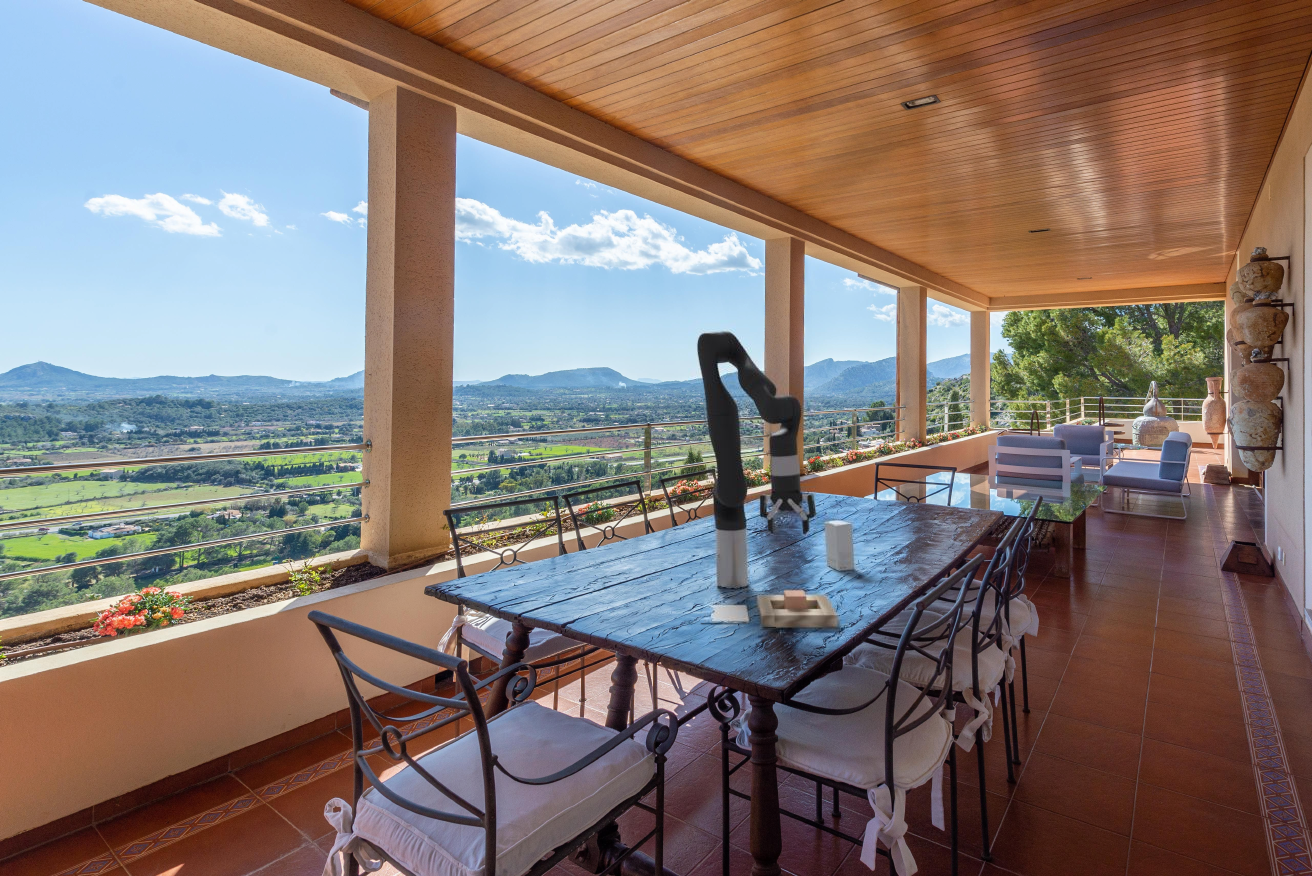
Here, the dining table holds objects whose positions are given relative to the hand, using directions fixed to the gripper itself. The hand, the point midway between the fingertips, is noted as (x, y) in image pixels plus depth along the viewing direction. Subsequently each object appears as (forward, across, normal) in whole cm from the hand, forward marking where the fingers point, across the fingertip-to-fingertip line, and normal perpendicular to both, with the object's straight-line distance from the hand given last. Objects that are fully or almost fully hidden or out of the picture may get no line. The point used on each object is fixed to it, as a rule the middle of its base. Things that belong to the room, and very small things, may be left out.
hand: (788, 533), depth 169 cm
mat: (+19, -15, -12) cm, 27 cm away
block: (+20, +2, -7) cm, 21 cm away
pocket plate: (+20, +2, -7) cm, 21 cm away
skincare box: (+22, +6, +43) cm, 48 cm away
